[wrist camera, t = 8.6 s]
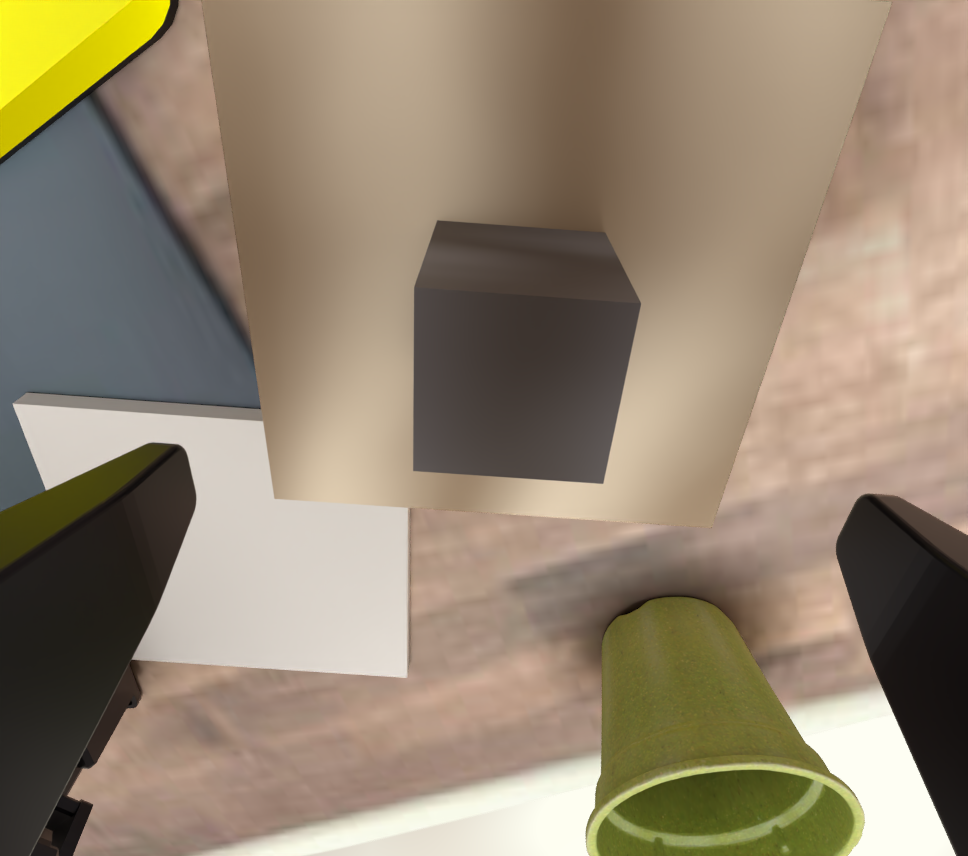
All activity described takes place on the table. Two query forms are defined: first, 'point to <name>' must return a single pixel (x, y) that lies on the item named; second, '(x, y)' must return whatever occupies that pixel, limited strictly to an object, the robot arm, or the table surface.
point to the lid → (525, 237)
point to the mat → (246, 544)
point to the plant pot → (705, 748)
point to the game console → (66, 56)
